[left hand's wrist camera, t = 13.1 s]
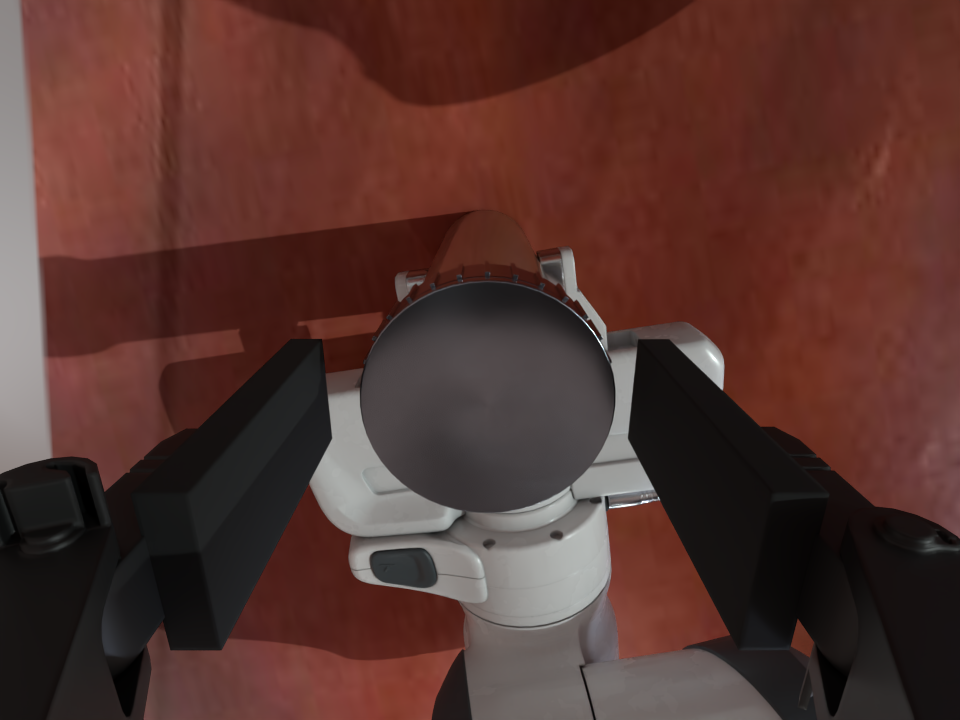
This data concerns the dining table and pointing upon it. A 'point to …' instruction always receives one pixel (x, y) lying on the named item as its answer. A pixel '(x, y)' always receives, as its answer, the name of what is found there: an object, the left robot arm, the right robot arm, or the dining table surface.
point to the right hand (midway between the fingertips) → (481, 261)
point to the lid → (487, 389)
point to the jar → (485, 244)
